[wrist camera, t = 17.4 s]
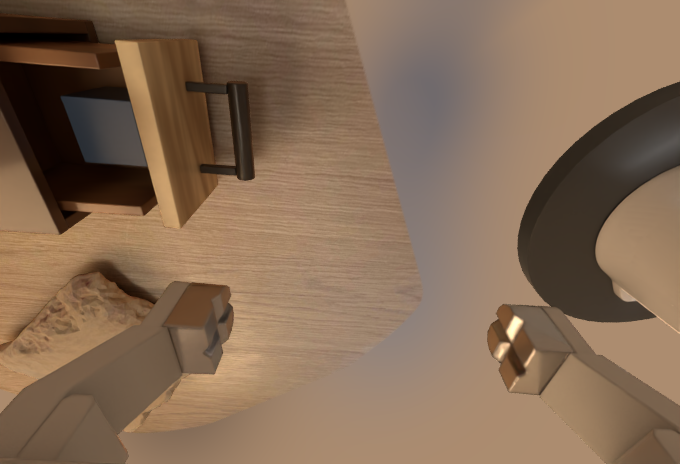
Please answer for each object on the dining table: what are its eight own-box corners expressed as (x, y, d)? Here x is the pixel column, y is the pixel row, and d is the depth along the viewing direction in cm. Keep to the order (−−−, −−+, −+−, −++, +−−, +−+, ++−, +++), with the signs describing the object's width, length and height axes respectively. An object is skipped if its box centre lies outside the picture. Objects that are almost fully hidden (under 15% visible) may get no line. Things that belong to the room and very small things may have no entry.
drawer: (255, 44, 23) (219, 48, 16) (264, 188, 29) (240, 232, 22) (7, 23, 22) (-135, 18, 16) (69, 173, 28) (-15, 215, 22)
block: (130, 101, 20) (59, 95, 20) (147, 167, 22) (84, 162, 22) (164, 90, 24) (104, 86, 23) (176, 148, 26) (122, 144, 26)
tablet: (234, 344, 43) (92, 258, 33) (218, 399, 37) (39, 316, 27) (132, 393, 52) (-5, 337, 42) (106, 445, 46) (-61, 394, 36)
